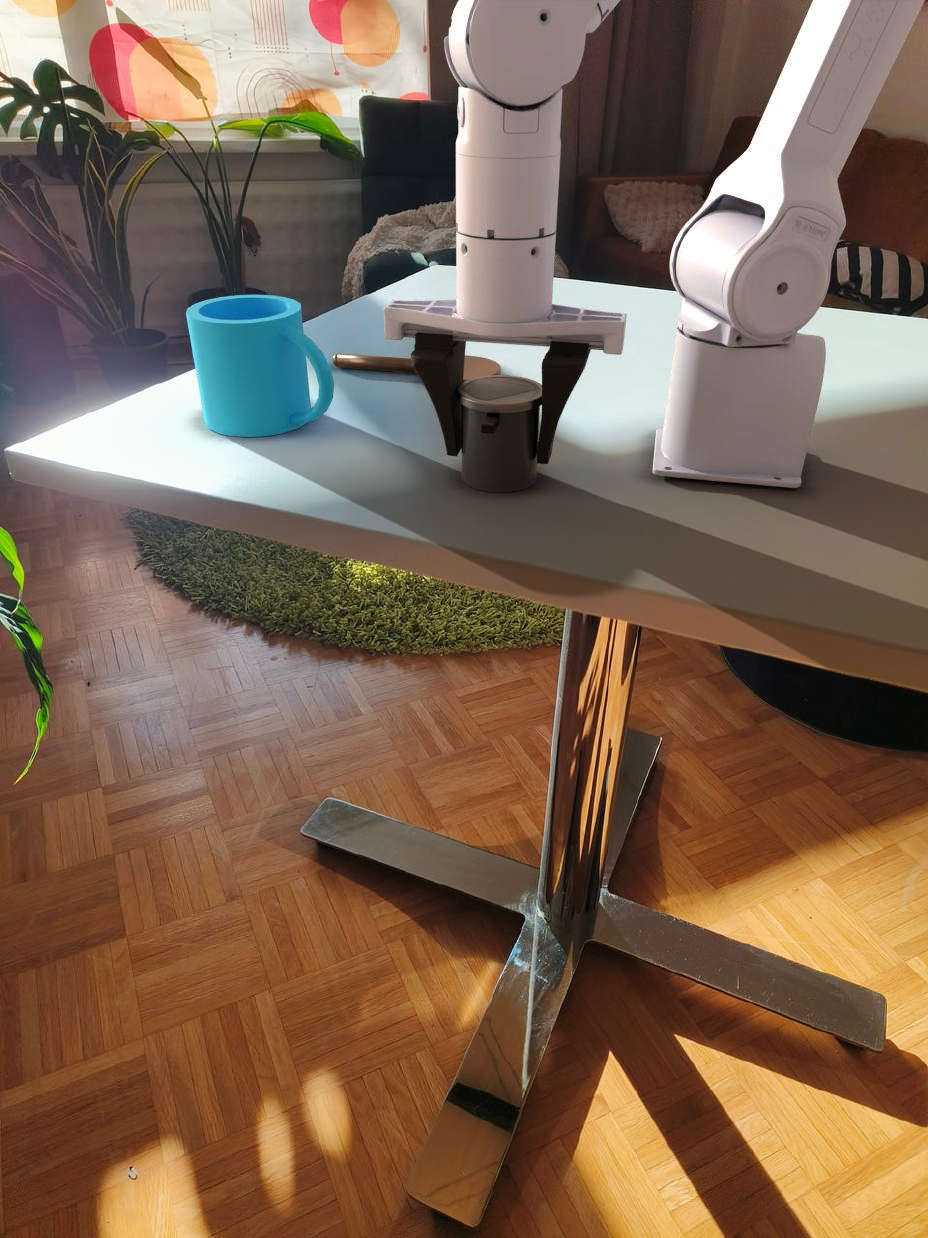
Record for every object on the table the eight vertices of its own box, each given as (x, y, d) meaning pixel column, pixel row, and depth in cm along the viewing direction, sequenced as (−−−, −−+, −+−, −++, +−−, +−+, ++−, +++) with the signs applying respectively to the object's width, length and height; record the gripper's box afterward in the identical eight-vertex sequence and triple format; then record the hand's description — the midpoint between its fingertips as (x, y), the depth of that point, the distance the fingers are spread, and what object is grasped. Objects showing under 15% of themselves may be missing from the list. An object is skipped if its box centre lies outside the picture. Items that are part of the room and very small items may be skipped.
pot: (546, 463, 59) (551, 378, 56) (530, 509, 53) (534, 416, 50) (466, 456, 60) (467, 372, 57) (442, 500, 54) (441, 409, 51)
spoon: (506, 366, 77) (507, 353, 77) (492, 391, 72) (493, 377, 71) (345, 355, 80) (344, 342, 79) (320, 378, 74) (318, 364, 74)
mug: (181, 421, 66) (161, 311, 61) (259, 392, 71) (246, 289, 67) (297, 457, 60) (283, 339, 56) (371, 422, 66) (365, 312, 61)
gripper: (638, 224, 51) (615, 440, 59) (402, 214, 54) (409, 423, 61) (631, 246, 45) (607, 483, 53) (368, 235, 48) (380, 462, 55)
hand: (500, 454), depth 57 cm, fingers closed on pot, 5 cm apart
